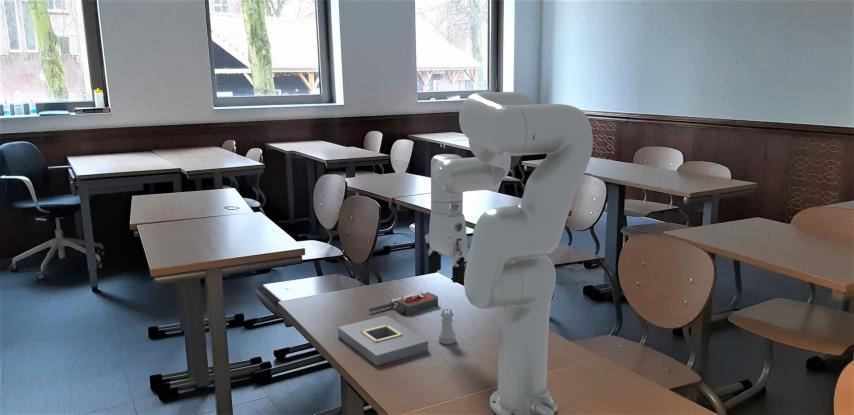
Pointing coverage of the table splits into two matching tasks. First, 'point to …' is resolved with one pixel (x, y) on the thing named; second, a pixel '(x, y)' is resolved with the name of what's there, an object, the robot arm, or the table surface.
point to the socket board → (382, 340)
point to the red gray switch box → (411, 303)
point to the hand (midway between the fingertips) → (446, 275)
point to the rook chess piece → (447, 328)
